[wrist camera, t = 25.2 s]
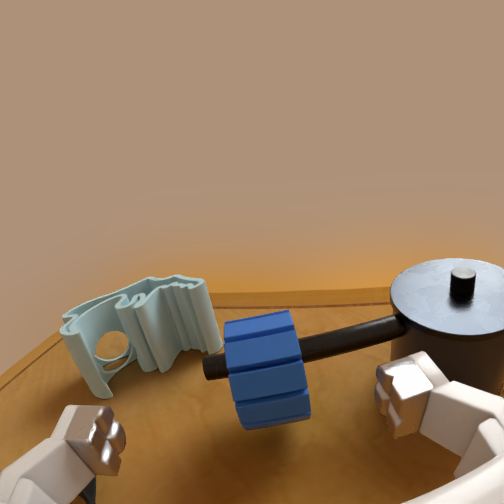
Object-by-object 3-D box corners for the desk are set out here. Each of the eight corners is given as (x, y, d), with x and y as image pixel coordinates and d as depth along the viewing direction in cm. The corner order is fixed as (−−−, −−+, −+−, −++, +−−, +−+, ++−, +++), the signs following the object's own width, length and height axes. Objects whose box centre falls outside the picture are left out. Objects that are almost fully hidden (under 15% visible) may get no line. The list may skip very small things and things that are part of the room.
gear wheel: (250, 450, 22) (222, 369, 19) (245, 379, 30) (224, 302, 27) (314, 439, 21) (303, 354, 19) (295, 370, 30) (282, 290, 27)
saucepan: (230, 489, 20) (184, 400, 16) (228, 383, 33) (201, 294, 29) (528, 384, 20) (560, 283, 16) (463, 320, 33) (471, 235, 29)
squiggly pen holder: (191, 321, 47) (173, 265, 44) (226, 347, 40) (208, 281, 37) (84, 372, 38) (56, 314, 35) (100, 412, 30) (62, 347, 27)
